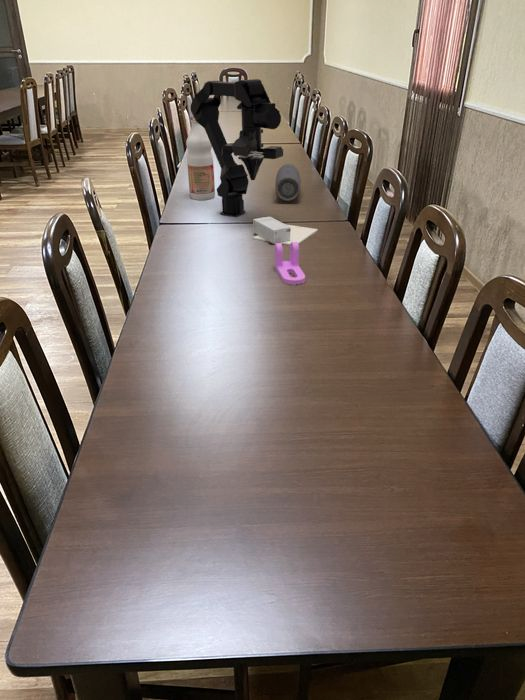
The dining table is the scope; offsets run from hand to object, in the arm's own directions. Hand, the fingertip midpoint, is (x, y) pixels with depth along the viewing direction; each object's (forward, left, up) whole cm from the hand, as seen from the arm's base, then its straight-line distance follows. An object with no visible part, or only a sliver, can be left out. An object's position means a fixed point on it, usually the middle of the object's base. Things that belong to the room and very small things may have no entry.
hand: (252, 180), depth 168 cm
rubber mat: (+16, -8, -13) cm, 22 cm away
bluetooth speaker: (-4, +33, -13) cm, 36 cm away
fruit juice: (-31, +17, -13) cm, 38 cm away
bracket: (+30, -36, -13) cm, 49 cm away
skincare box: (+8, -9, -10) cm, 16 cm away
